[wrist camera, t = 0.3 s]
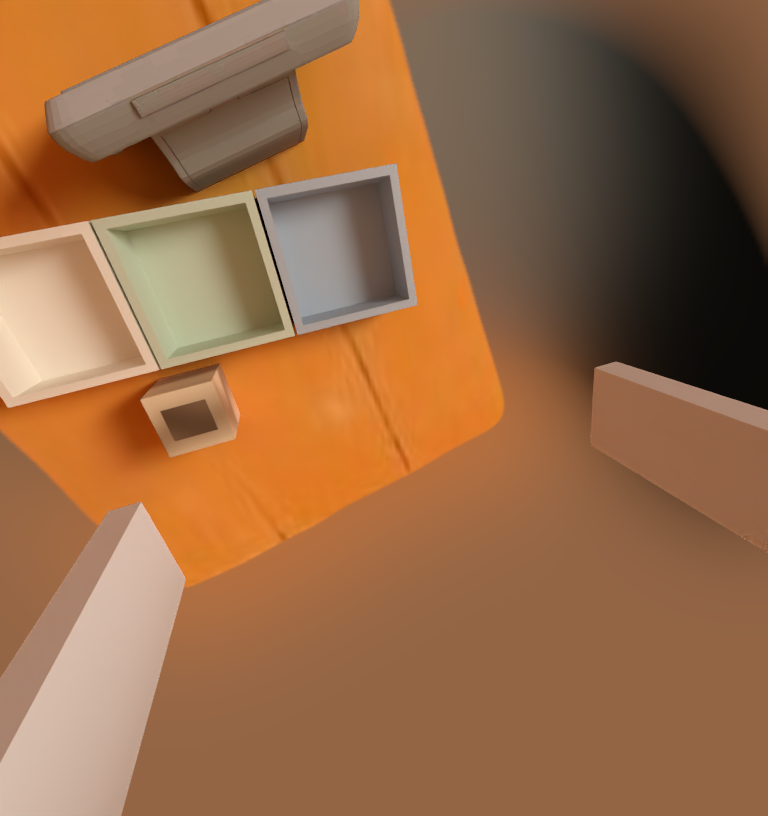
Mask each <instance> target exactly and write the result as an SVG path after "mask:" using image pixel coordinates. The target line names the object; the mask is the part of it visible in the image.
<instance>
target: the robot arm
mask: <svg viewBox="0 0 768 816" xmlns="http://www.w3.org/2000/svg"><path fill="white" fill-rule="evenodd" d="M593 391H594V392H593V406H592V425H591V440H590V445H592V446H593V447H595V448H597V449H598V450H600V451H601V452H603V453H605V454H606V455H608V456H610V457H611V458H613V459H615V460H616V461H618V462H619V463H621V464H623V465H624V466H626V467H628V468H629V469H631V470H633V471H634V472H636V473H637V474H639V475H641V476H643V477H644V478H646V479H647V480H649V481H650V482H652V483H654V484H656V485H657V486H659V487H661V488H662V489H664V490H665V491H667V492H669V493H670V494H672V495H674V496H675V497H677V498H678V499H680V500H682V501H683V502H685V503H686V504H688V505H690V506H691V507H693V508H695V509H696V510H698V511H700V512H701V513H703V514H705V515H706V516H708V517H710V518H711V519H713V520H714V521H716V522H717V523H719V524H721V525H723V526H724V527H726V528H727V529H729V530H731V531H732V532H734V533H736V534H737V535H739V536H740V537H742V538H744V539H745V540H747V541H749V542H750V543H752V544H753V545H755V546H757V547H758V548H760V549H762V550H763V551H765V552H767V553H768V410H765V409H762V408H758V407H755V406H752V405H749V404H746V403H743V402H740V401H737V400H734V399H731V398H727V397H724V396H721V395H718V394H715V393H712V392H709V391H705V390H702V389H699V388H696V387H693V386H690V385H687V384H684V383H681V382H678V381H674V380H671V379H668V378H665V377H662V376H659V375H656V374H653V373H650V372H647V371H644V370H640V369H637V368H634V367H631V366H628V365H625V364H622V363H618V362H613V363H610V364H607V365H603V366H600V367H597V368H595V372H594V390H593ZM185 580H186V578H185V577H184V575H183V573H182V571H181V570H180V568H179V566H178V565H177V563H176V561H175V559H174V558H173V556H172V554H171V552H170V551H169V549H168V547H167V546H166V544H165V542H164V540H163V539H162V537H161V535H160V533H159V532H158V530H157V528H156V527H155V525H154V523H153V521H152V520H151V518H150V516H149V514H148V513H147V511H146V509H145V508H144V506H143V504H142V502H138V503H135V504H132V505H128V506H125V507H121V508H118V509H115V510H111V511H108V512H107V514H106V516H105V517H104V519H103V520H102V522H101V523H100V525H99V526H98V528H97V529H96V531H95V533H94V534H93V536H92V537H91V539H90V540H89V542H88V543H87V545H86V546H85V548H84V550H83V551H82V553H81V554H80V556H79V558H78V559H77V561H76V562H75V563H74V565H73V567H72V568H71V570H70V571H69V573H68V574H67V576H66V577H65V579H64V581H63V582H62V584H61V585H60V587H59V588H58V590H57V591H56V593H55V594H54V596H53V598H52V599H51V601H50V602H49V604H48V605H47V607H46V608H45V610H44V611H43V613H42V615H41V616H40V618H39V619H38V621H37V622H36V624H35V625H34V627H33V628H32V630H31V632H30V633H29V635H28V636H27V638H26V639H25V641H24V642H23V644H22V646H21V647H20V649H19V650H18V652H17V653H16V655H15V656H14V658H13V659H12V661H11V663H10V664H9V666H8V667H7V669H6V670H5V672H4V673H3V675H2V676H1V678H0V816H121V813H122V810H123V806H124V802H125V799H126V795H127V792H128V788H129V784H130V781H131V777H132V773H133V769H134V766H135V762H136V758H137V755H138V751H139V748H140V744H141V741H142V737H143V733H144V730H145V726H146V722H147V719H148V715H149V711H150V708H151V704H152V700H153V697H154V693H155V689H156V686H157V682H158V679H159V675H160V671H161V668H162V664H163V660H164V657H165V653H166V650H167V646H168V642H169V639H170V635H171V631H172V628H173V624H174V620H175V616H176V613H177V610H178V606H179V602H180V599H181V595H182V591H183V588H184V584H185Z"/></svg>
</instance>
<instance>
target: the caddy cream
mask: <svg viewBox="0 0 768 816" xmlns="http://www.w3.org/2000/svg"><path fill="white" fill-rule="evenodd" d="M160 368H161V367H160V365H159V363H158V361H157V359H156V357H155V355H154V353H153V350H152V348H151V346H150V344H149V342H148V340H147V338H146V336H145V334H144V332H143V330H142V327H141V325H140V323H139V321H138V319H137V317H136V315H135V313H134V311H133V309H132V306H131V304H130V302H129V300H128V298H127V296H126V294H125V292H124V290H123V288H122V286H121V283H120V281H119V279H118V277H117V275H116V273H115V271H114V269H113V267H112V265H111V262H110V260H109V258H108V256H107V254H106V252H105V250H104V248H103V246H102V244H101V242H100V239H99V237H98V235H97V233H96V231H95V229H94V227H93V225H92V223H91V222H90V221H85V222H79V223H74V224H68V225H63V226H58V227H52V228H47V229H42V230H36V231H31V232H26V233H20V234H15V235H9V236H4V237H0V397H1V398H2V399H3V401H4V402H5V404H6V405H7V407H8V408H10V407H14V406H18V405H22V404H26V403H30V402H34V401H38V400H42V399H46V398H50V397H54V396H58V395H62V394H66V393H70V392H74V391H78V390H82V389H86V388H90V387H94V386H98V385H102V384H106V383H110V382H114V381H118V380H122V379H126V378H130V377H134V376H138V375H141V374H145V373H149V372H153V371H157V370H159V369H160Z"/></svg>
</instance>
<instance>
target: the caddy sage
mask: <svg viewBox="0 0 768 816" xmlns="http://www.w3.org/2000/svg"><path fill="white" fill-rule="evenodd" d="M90 221H91V223H92V225H93V227H94V229H95V231H96V233H97V235H98V237H99V239H100V242H101V244H102V246H103V248H104V250H105V252H106V254H107V256H108V258H109V260H110V262H111V265H112V267H113V269H114V271H115V273H116V275H117V277H118V279H119V281H120V283H121V286H122V288H123V290H124V292H125V294H126V296H127V298H128V300H129V302H130V304H131V306H132V309H133V311H134V313H135V315H136V317H137V319H138V321H139V323H140V325H141V327H142V330H143V332H144V334H145V336H146V338H147V340H148V342H149V344H150V346H151V348H152V350H153V353H154V355H155V357H156V359H157V361H158V363H159V365H160V367H161V369H165V368H169V367H173V366H177V365H181V364H185V363H189V362H193V361H197V360H201V359H205V358H209V357H213V356H217V355H221V354H225V353H229V352H233V351H237V350H241V349H245V348H249V347H253V346H257V345H261V344H265V343H269V342H273V341H276V340H280V339H284V338H288V337H292V336H295V333H294V328H293V325H292V321H291V318H290V315H289V311H288V308H287V304H286V301H285V298H284V294H283V291H282V288H281V284H280V281H279V278H278V274H277V271H276V268H275V264H274V261H273V258H272V254H271V251H270V248H269V244H268V241H267V238H266V234H265V231H264V228H263V224H262V221H261V218H260V214H259V211H258V207H257V204H256V201H255V198H254V195H253V193H252V190H251V191H246V192H240V193H235V194H230V195H224V196H219V197H213V198H208V199H203V200H197V201H192V202H187V203H181V204H176V205H170V206H165V207H160V208H154V209H149V210H144V211H138V212H133V213H128V214H122V215H117V216H111V217H106V218H101V219H95V220H90Z"/></svg>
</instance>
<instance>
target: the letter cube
mask: <svg viewBox="0 0 768 816" xmlns="http://www.w3.org/2000/svg"><path fill="white" fill-rule="evenodd" d="M140 401H141V403H142V405H143V407H144V409H145V411H146V413H147V414H148V416H149V418H150V420H151V422H152V424H153V426H154V428H155V430H156V432H157V434H158V436H159V437H160V439H161V441H162V443H163V445H164V447H165V449H166V451H167V453H168V455H169V457H170V458H171V457H174V456H178V455H181V454H185V453H188V452H192V451H195V450H199V449H202V448H205V447H209V446H212V445H216V444H219V443H223V442H226V441H230V440H233V439H236V434H237V429H238V424H239V419H240V412H239V410H238V407H237V405H236V402H235V400H234V397H233V395H232V393H231V390H230V388H229V385H228V383H227V380H226V378H225V375H224V373H223V370H222V368H221V365H220V363H219V364H215V365H211V366H207V367H203V368H200V369H196V370H192V371H188V372H184V373H180V374H176V375H172V376H168V377H164V378H160V379H158V380H157V381H156V383H155V384H154V385H153V386H152V387H151V388H150V389H149V390H148V391H147V393H146V394H145V395H144V396H143V397H142V398H141V399H140Z"/></svg>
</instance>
